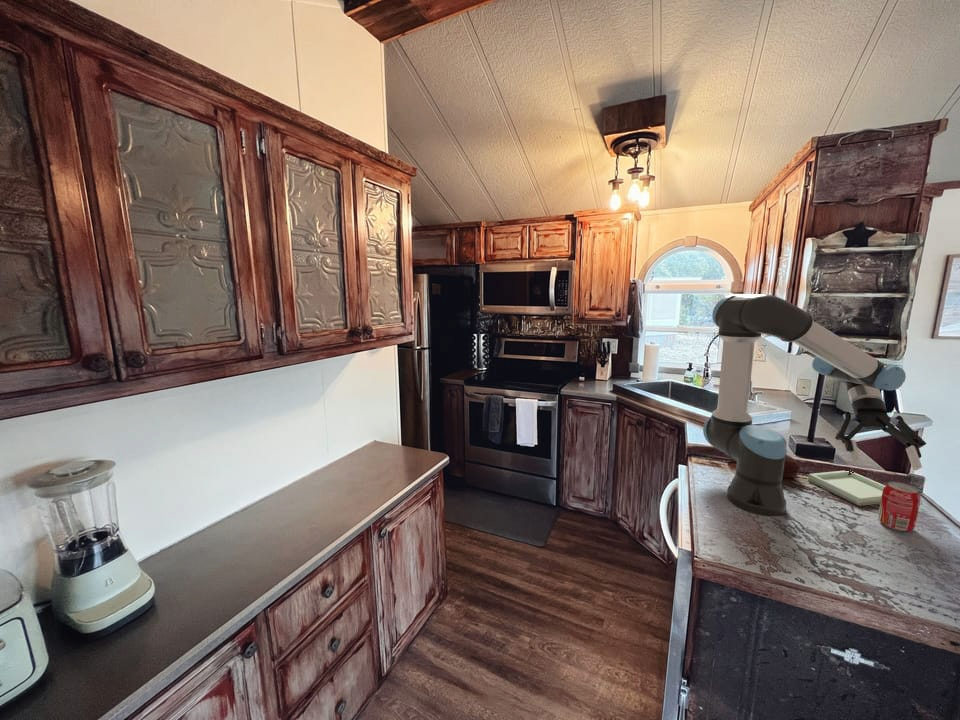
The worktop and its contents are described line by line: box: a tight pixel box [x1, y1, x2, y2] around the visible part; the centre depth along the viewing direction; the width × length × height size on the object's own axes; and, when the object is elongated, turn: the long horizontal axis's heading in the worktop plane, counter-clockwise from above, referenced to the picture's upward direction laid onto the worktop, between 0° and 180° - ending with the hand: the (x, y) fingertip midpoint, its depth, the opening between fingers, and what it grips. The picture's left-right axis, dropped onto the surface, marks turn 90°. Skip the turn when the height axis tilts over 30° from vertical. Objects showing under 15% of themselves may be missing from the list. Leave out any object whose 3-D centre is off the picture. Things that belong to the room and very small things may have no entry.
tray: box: [807, 470, 886, 507], centre depth 125 cm, size 16×16×2 cm
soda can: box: [878, 481, 921, 532], centre depth 105 cm, size 7×7×12 cm
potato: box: [783, 454, 801, 478], centre depth 135 cm, size 12×11×8 cm
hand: (886, 465), depth 112 cm, fingers open, 13 cm apart
